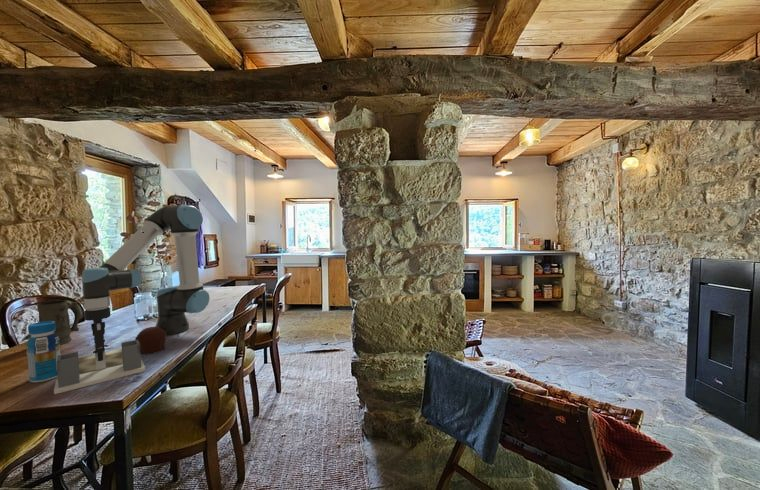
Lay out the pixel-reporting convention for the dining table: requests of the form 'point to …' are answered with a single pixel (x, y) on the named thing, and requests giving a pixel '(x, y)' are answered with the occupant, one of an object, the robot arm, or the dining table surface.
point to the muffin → (151, 340)
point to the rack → (73, 379)
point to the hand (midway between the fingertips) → (100, 364)
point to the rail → (90, 363)
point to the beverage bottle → (42, 351)
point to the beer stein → (60, 317)
